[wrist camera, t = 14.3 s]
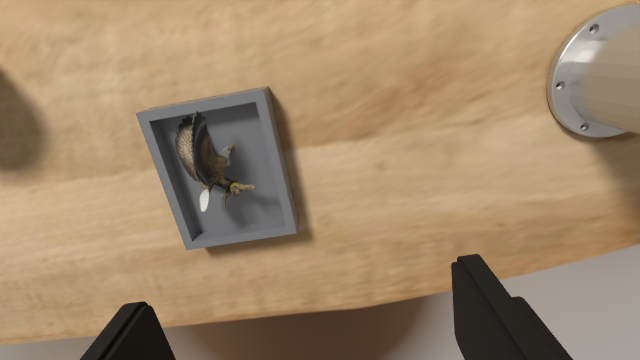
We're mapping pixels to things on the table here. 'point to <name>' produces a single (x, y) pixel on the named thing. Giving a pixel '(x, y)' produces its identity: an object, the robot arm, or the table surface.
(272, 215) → the tray
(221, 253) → the table surface
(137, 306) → the robot arm
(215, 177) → the eagle figurine
